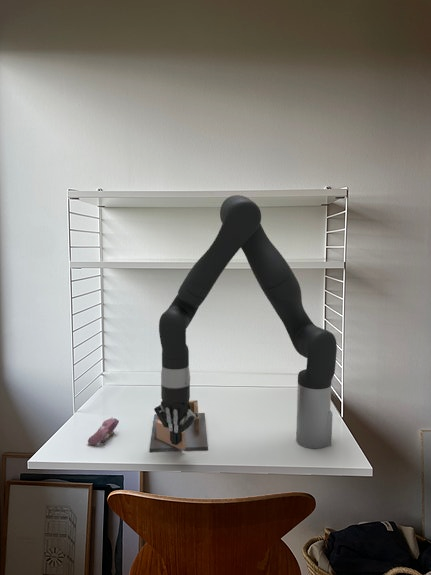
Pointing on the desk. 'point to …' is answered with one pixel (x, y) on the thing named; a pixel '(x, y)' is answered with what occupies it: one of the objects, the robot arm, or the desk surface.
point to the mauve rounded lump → (103, 431)
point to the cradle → (193, 434)
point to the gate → (167, 435)
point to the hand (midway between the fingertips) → (175, 443)
